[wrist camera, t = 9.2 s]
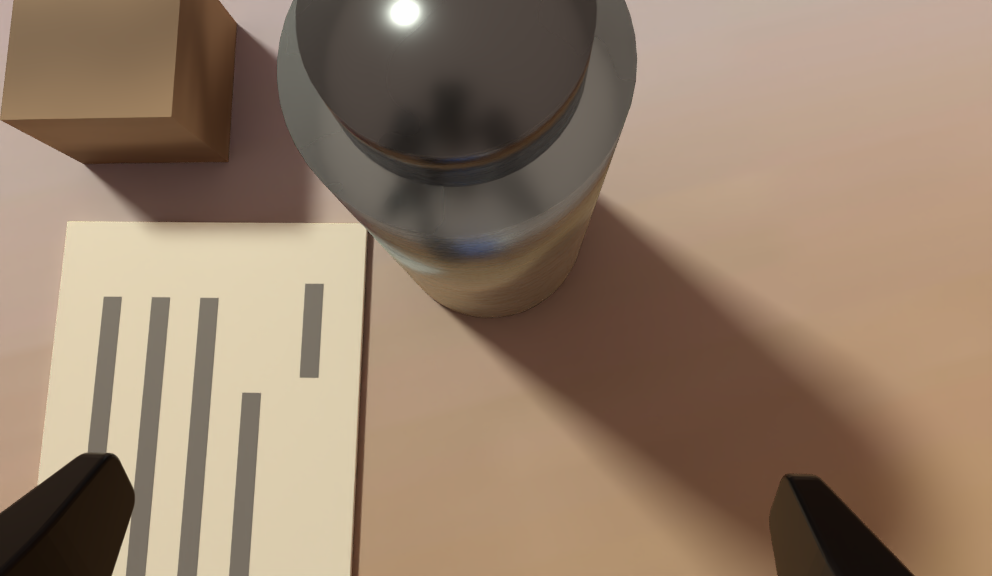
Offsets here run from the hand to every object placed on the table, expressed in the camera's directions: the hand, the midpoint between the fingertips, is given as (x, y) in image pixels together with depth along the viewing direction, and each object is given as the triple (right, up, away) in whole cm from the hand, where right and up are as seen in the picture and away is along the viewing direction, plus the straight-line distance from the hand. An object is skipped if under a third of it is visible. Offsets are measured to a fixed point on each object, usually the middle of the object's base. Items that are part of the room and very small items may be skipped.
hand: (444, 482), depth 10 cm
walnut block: (-11, +9, +15) cm, 21 cm away
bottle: (+1, +5, +13) cm, 14 cm away
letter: (-9, -2, +13) cm, 16 cm away
